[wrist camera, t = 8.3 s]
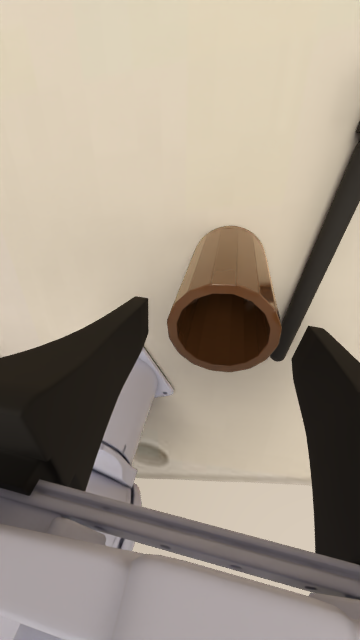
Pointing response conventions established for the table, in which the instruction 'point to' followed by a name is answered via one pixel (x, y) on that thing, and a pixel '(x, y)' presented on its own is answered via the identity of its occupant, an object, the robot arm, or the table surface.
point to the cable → (322, 252)
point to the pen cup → (226, 304)
